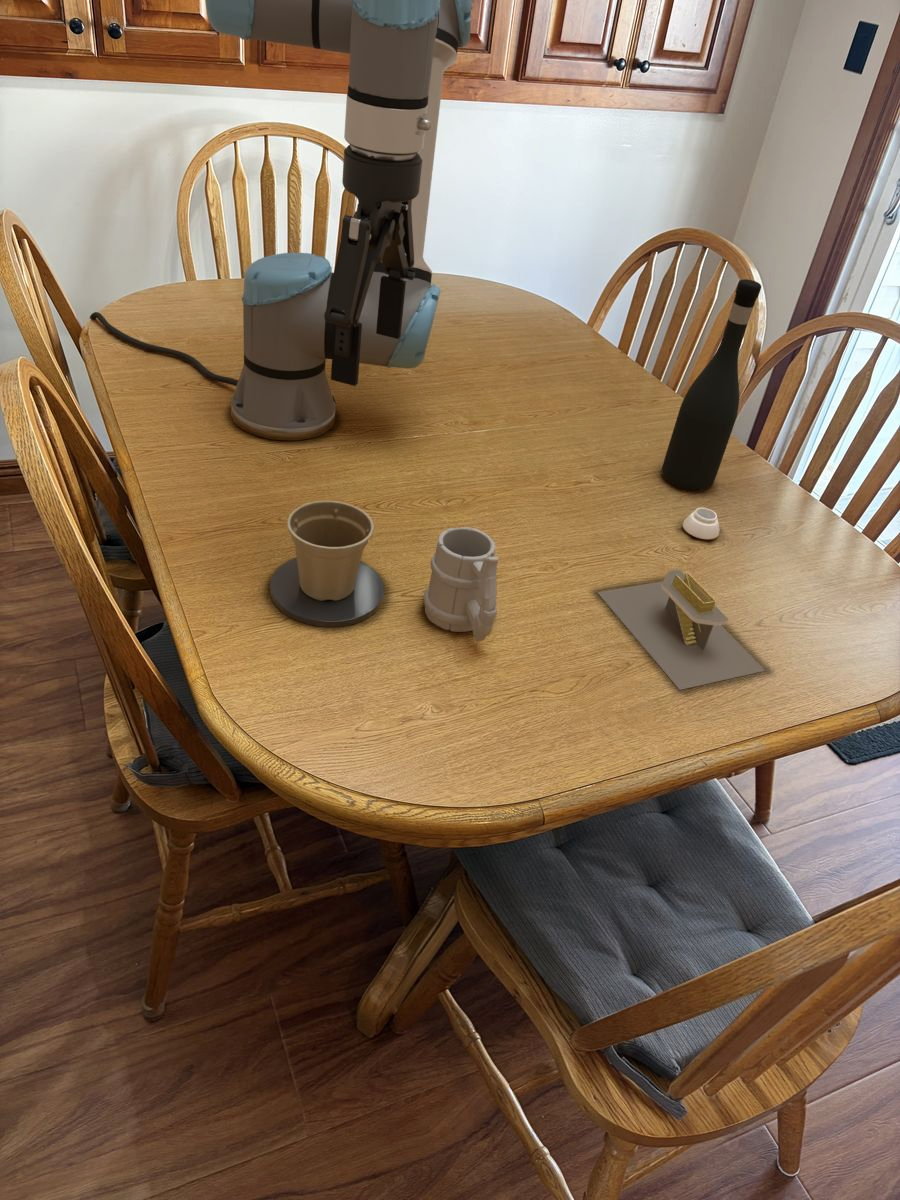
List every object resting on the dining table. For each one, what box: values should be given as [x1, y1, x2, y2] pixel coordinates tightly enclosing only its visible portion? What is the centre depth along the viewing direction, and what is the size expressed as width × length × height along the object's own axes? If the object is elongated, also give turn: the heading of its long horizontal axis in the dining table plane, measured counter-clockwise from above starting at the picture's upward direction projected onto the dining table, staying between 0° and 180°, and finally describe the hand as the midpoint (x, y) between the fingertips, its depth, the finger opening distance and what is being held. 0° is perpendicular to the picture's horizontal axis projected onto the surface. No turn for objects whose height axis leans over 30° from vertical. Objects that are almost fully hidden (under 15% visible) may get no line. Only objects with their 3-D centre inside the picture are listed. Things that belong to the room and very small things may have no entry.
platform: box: [596, 569, 766, 691], centre depth 109 cm, size 12×18×7 cm, turn 23°
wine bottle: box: [661, 278, 762, 492], centre depth 132 cm, size 8×8×30 cm
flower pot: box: [286, 499, 375, 601], centre depth 105 cm, size 9×9×9 cm
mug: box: [423, 526, 499, 642], centre depth 103 cm, size 8×12×12 cm, turn 23°
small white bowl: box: [682, 507, 721, 540], centre depth 129 cm, size 5×3×5 cm
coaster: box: [269, 557, 385, 628], centre depth 108 cm, size 13×13×1 cm
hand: (367, 357), depth 103 cm, fingers open, 13 cm apart
